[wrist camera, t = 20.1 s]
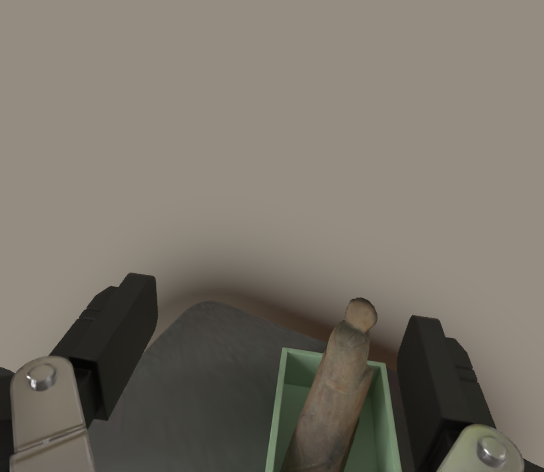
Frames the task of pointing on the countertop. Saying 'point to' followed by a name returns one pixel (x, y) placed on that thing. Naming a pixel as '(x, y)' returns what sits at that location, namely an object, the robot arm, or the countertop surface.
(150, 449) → the countertop surface
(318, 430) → the worn brown figurine
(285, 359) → the bin
